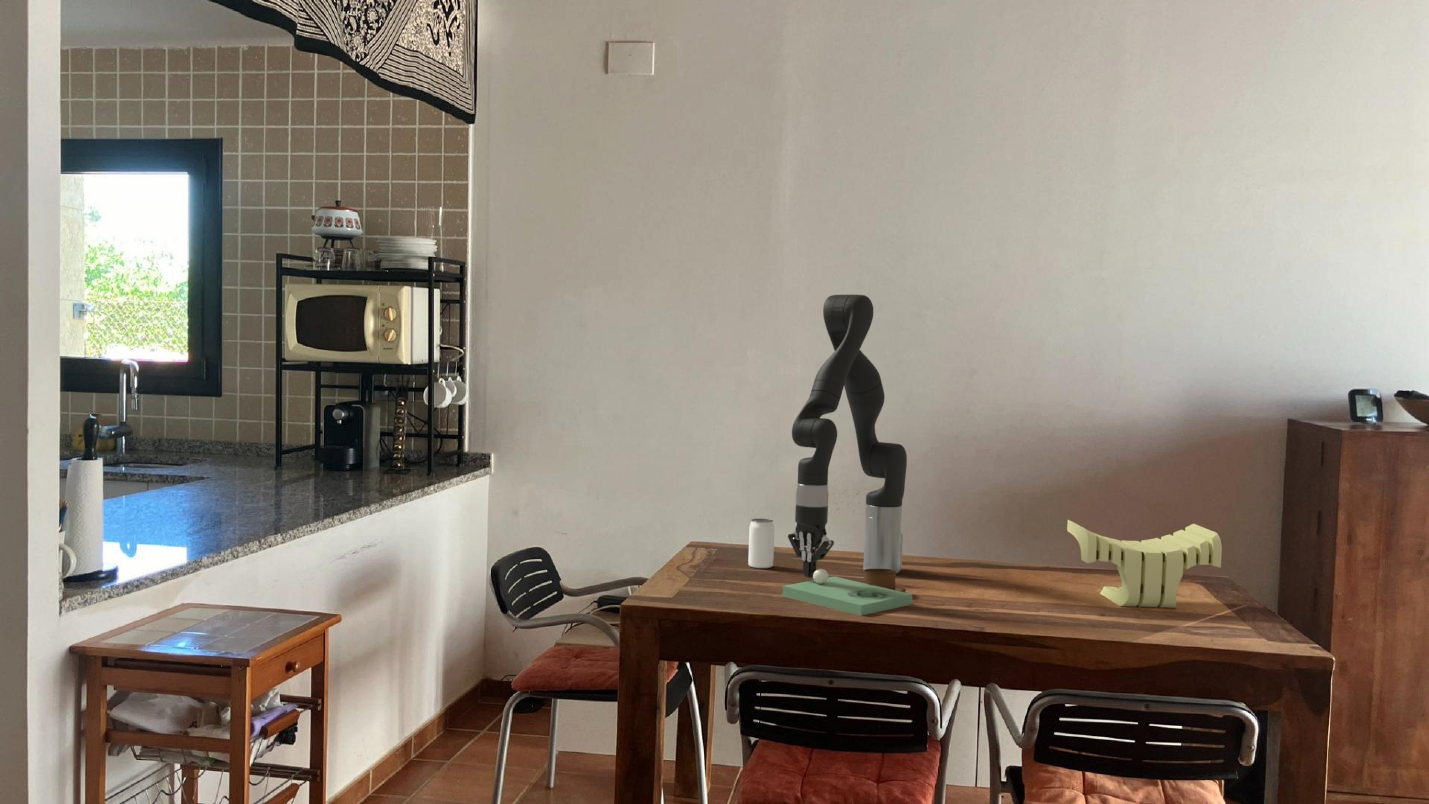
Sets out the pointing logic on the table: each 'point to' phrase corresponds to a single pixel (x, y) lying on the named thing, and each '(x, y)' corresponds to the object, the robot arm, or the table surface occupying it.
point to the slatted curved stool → (1150, 562)
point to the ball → (820, 576)
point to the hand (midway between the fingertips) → (809, 576)
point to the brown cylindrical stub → (882, 578)
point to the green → (847, 596)
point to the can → (761, 543)
